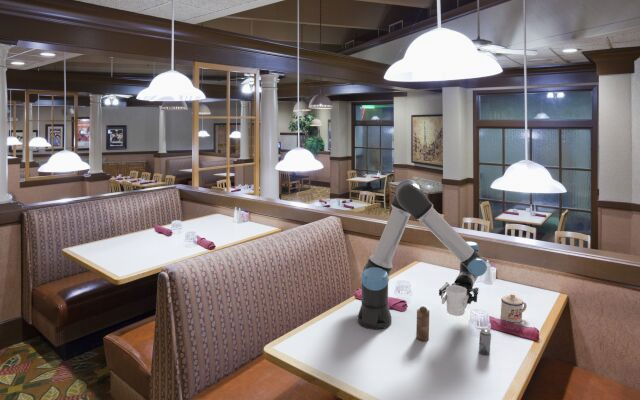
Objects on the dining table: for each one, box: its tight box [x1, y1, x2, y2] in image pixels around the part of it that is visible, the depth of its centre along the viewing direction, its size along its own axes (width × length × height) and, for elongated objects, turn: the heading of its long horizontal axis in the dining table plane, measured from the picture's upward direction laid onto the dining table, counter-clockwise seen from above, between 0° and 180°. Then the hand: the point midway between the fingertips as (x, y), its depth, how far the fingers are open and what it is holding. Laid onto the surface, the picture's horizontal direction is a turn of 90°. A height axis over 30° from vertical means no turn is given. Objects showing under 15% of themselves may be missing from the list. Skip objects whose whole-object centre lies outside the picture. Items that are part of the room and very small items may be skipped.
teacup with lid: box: [500, 293, 528, 324], centre depth 187 cm, size 12×9×12 cm
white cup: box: [445, 284, 467, 317], centre depth 168 cm, size 8×8×10 cm
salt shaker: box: [478, 328, 492, 356], centre depth 160 cm, size 4×4×9 cm
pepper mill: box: [415, 305, 430, 342], centre depth 171 cm, size 5×5×14 cm
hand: (453, 302), depth 163 cm, fingers closed on white cup, 8 cm apart
